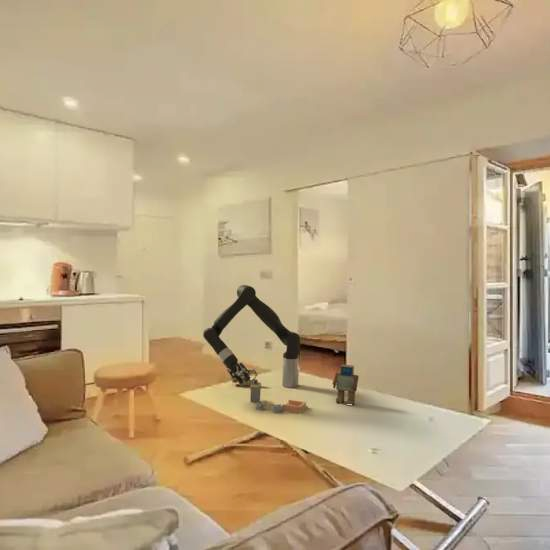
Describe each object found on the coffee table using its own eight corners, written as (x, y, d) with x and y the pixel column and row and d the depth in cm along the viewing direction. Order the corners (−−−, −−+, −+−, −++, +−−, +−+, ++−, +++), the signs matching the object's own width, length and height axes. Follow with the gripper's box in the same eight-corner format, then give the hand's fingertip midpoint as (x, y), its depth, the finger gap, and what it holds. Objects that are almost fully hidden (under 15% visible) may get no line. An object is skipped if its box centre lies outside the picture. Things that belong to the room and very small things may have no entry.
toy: (331, 404, 228) (332, 366, 227) (336, 399, 236) (337, 363, 236) (355, 407, 223) (356, 369, 223) (358, 402, 232) (359, 366, 232)
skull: (258, 384, 255) (254, 368, 255) (233, 391, 255) (228, 375, 256) (259, 380, 265) (255, 365, 265) (235, 387, 265) (231, 371, 265)
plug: (253, 399, 231) (254, 378, 231) (260, 401, 229) (261, 379, 229) (250, 402, 227) (250, 380, 227) (257, 403, 225) (257, 381, 225)
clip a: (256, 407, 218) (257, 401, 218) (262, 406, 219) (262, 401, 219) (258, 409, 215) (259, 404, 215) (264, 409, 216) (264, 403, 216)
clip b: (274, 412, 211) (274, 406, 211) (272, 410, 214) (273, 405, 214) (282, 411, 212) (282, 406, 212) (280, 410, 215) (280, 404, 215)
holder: (279, 410, 215) (279, 404, 215) (287, 404, 225) (287, 399, 225) (300, 413, 211) (300, 408, 211) (307, 407, 221) (307, 401, 221)
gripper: (225, 355, 227) (244, 379, 223) (238, 351, 240) (256, 374, 236) (217, 364, 229) (235, 388, 225) (229, 359, 242) (247, 382, 238)
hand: (245, 381), depth 231 cm, fingers open, 8 cm apart
